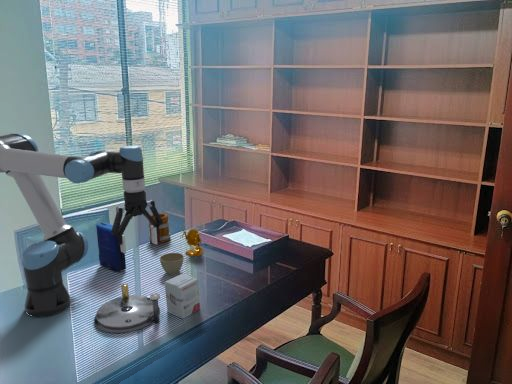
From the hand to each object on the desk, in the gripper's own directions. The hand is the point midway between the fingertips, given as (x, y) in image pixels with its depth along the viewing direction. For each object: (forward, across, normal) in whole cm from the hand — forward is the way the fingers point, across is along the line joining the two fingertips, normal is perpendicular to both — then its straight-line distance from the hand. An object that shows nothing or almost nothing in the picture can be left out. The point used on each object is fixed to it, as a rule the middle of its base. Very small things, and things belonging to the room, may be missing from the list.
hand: (139, 247), depth 161 cm
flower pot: (+20, +20, +12) cm, 31 cm away
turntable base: (+20, -10, -8) cm, 24 cm away
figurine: (+20, +39, +23) cm, 49 cm away
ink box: (+20, +6, -18) cm, 28 cm away
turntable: (+20, -10, -8) cm, 24 cm away
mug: (+20, +34, +49) cm, 63 cm away
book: (+20, +3, +34) cm, 40 cm away
